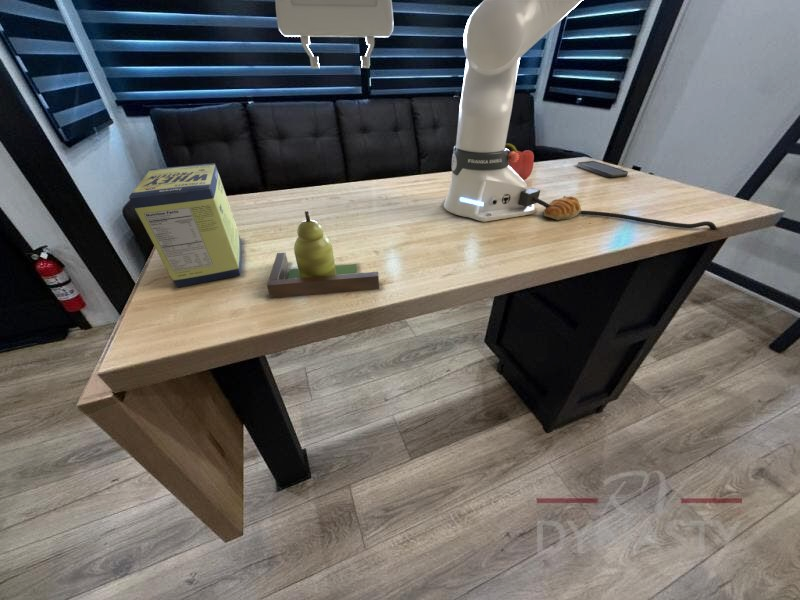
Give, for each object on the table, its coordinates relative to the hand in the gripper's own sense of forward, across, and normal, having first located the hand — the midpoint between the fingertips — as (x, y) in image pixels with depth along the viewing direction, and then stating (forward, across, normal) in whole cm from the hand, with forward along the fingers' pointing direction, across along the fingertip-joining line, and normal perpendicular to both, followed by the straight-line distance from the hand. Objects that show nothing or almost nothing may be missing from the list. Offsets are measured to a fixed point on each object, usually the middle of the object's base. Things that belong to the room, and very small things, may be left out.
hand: (340, 68), depth 61 cm
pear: (+29, -7, -27) cm, 40 cm away
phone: (+29, +84, +25) cm, 92 cm away
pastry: (+29, +50, -8) cm, 58 cm away
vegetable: (+29, +50, +20) cm, 61 cm away
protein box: (+29, -28, -19) cm, 44 cm away
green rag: (+29, -7, -27) cm, 41 cm away
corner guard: (+29, -6, -27) cm, 40 cm away
